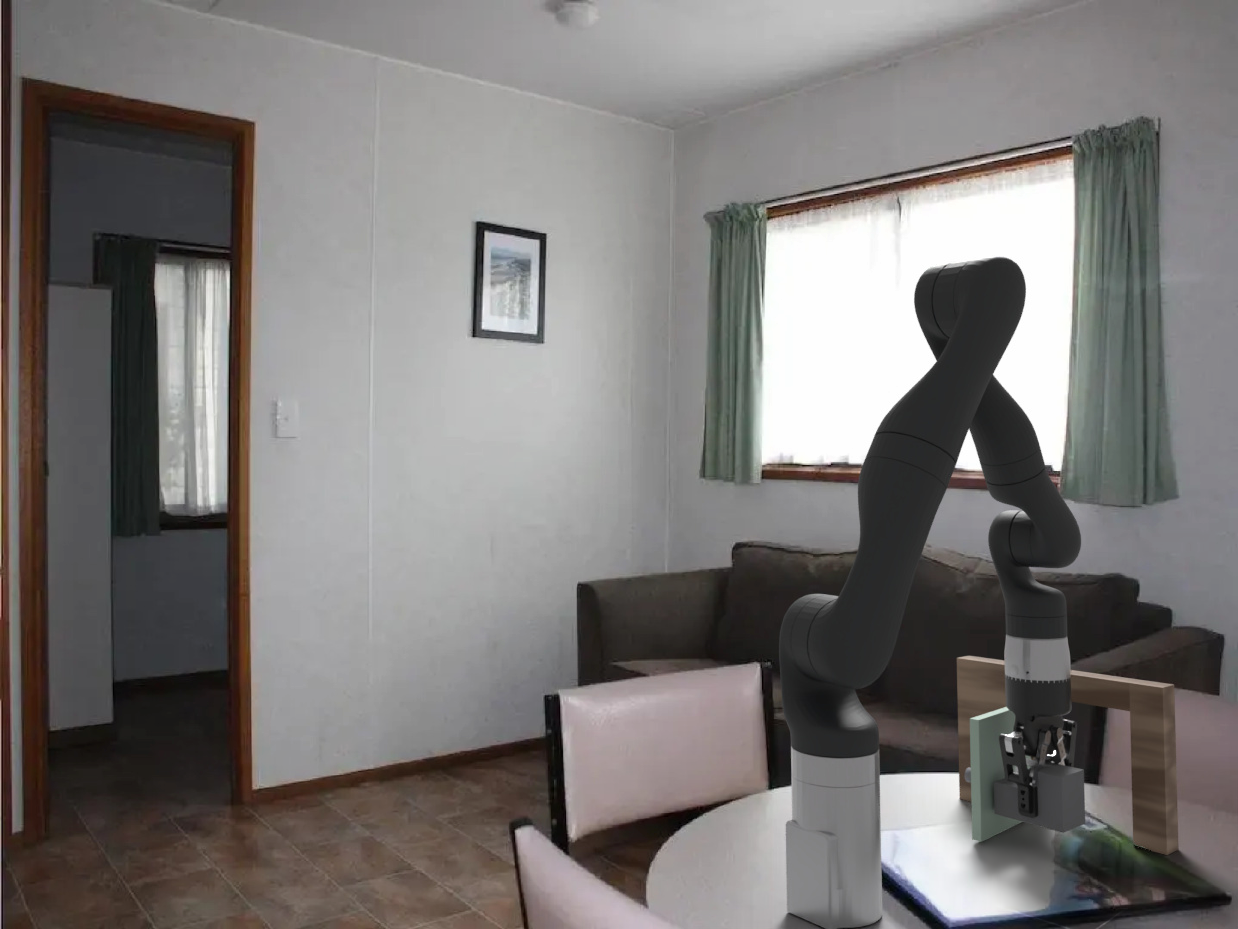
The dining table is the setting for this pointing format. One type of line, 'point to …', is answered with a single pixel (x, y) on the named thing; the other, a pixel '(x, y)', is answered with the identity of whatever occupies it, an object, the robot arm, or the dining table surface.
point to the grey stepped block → (1047, 798)
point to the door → (988, 771)
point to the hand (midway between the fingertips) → (1041, 810)
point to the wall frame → (1142, 698)
